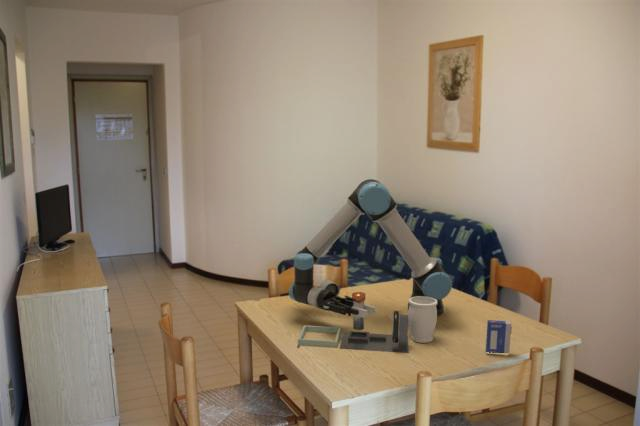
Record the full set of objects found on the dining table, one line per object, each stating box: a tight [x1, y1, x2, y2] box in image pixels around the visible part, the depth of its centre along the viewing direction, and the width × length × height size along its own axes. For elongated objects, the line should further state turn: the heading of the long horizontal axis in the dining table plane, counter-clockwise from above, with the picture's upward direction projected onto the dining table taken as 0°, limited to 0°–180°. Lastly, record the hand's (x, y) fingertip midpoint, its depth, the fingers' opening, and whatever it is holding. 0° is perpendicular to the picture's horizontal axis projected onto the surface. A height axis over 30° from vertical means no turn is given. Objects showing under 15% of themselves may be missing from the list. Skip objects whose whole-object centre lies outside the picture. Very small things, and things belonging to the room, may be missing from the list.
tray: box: [297, 325, 342, 348], centre depth 211 cm, size 14×14×3 cm
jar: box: [407, 296, 438, 344], centre depth 214 cm, size 11×10×15 cm
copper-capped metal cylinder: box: [351, 291, 366, 331], centre depth 211 cm, size 5×5×13 cm
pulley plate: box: [339, 310, 410, 354], centre depth 208 cm, size 24×16×14 cm, turn 83°
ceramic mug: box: [319, 279, 341, 296], centre depth 262 cm, size 11×8×8 cm
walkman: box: [485, 319, 513, 354], centre depth 201 cm, size 8×3×12 cm, turn 81°
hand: (370, 312), depth 207 cm, fingers closed on copper-capped metal cylinder, 4 cm apart
